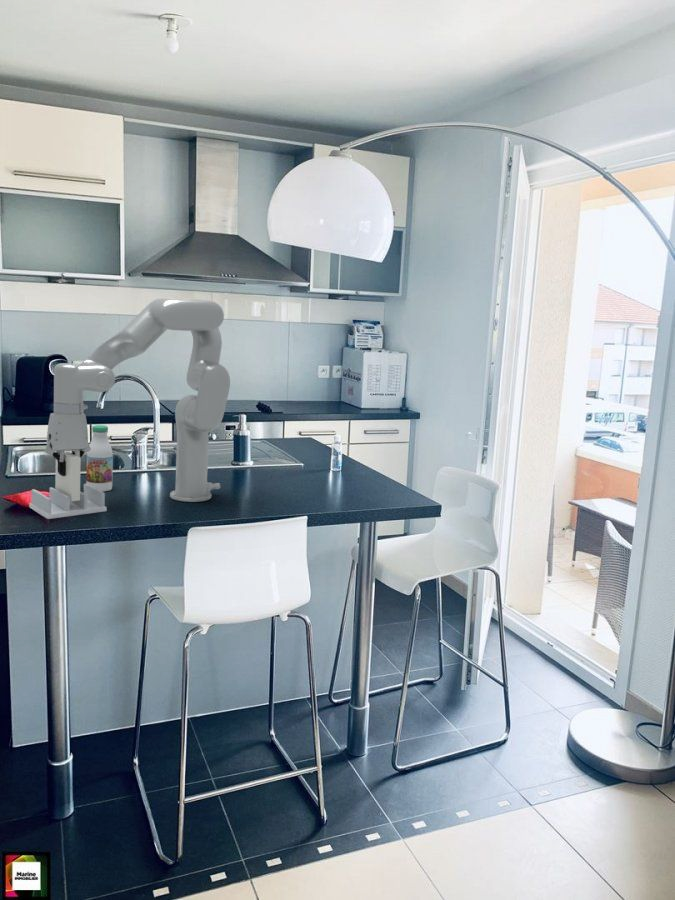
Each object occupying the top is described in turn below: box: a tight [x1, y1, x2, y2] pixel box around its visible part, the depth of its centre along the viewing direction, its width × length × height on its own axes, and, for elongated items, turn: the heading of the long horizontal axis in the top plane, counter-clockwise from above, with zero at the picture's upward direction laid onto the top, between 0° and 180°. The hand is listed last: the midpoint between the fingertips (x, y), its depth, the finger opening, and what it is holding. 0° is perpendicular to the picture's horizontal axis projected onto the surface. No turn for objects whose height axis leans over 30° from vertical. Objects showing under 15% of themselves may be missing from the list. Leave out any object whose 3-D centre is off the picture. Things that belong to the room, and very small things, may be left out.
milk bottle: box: [85, 424, 114, 492], centre depth 230 cm, size 8×8×20 cm
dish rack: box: [28, 483, 108, 520], centre depth 208 cm, size 17×13×5 cm
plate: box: [54, 451, 82, 501], centre depth 206 cm, size 2×11×12 cm, turn 43°
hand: (67, 474), depth 206 cm, fingers closed on plate, 2 cm apart
